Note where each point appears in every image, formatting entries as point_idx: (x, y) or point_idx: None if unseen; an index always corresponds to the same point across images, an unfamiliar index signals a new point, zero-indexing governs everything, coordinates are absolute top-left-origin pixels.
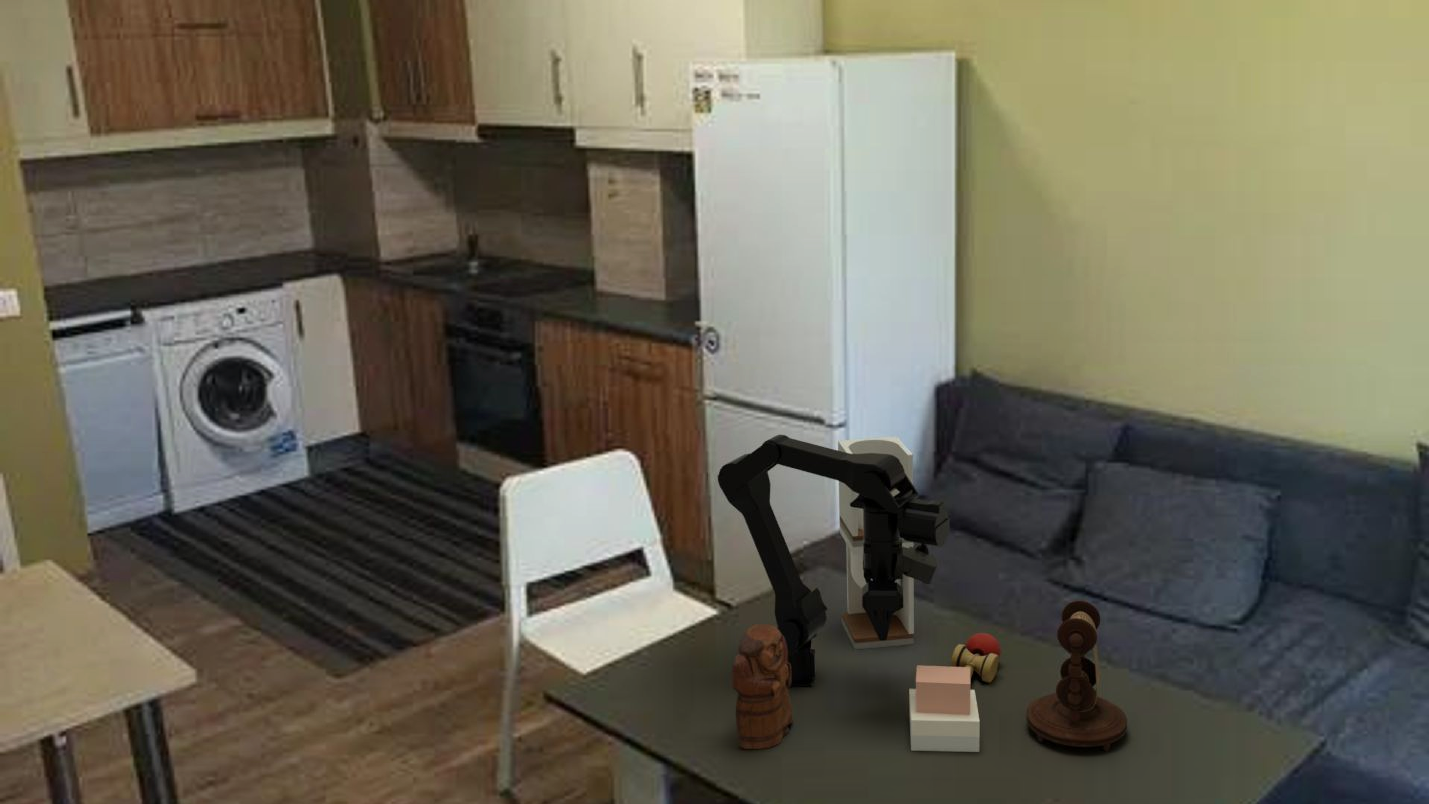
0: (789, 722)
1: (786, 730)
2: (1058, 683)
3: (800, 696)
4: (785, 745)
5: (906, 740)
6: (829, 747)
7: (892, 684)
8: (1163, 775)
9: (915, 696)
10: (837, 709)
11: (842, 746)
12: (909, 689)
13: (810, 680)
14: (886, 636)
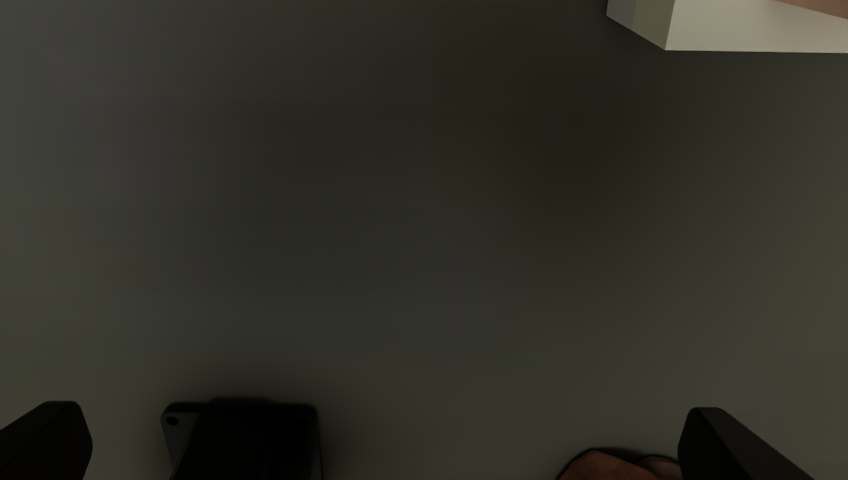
0: (651, 476)
1: (678, 471)
2: None
3: (393, 432)
4: None
5: None
6: (794, 341)
7: (240, 92)
8: None
9: (790, 11)
10: (498, 320)
11: (800, 301)
12: (677, 49)
13: (286, 418)
14: (764, 448)
